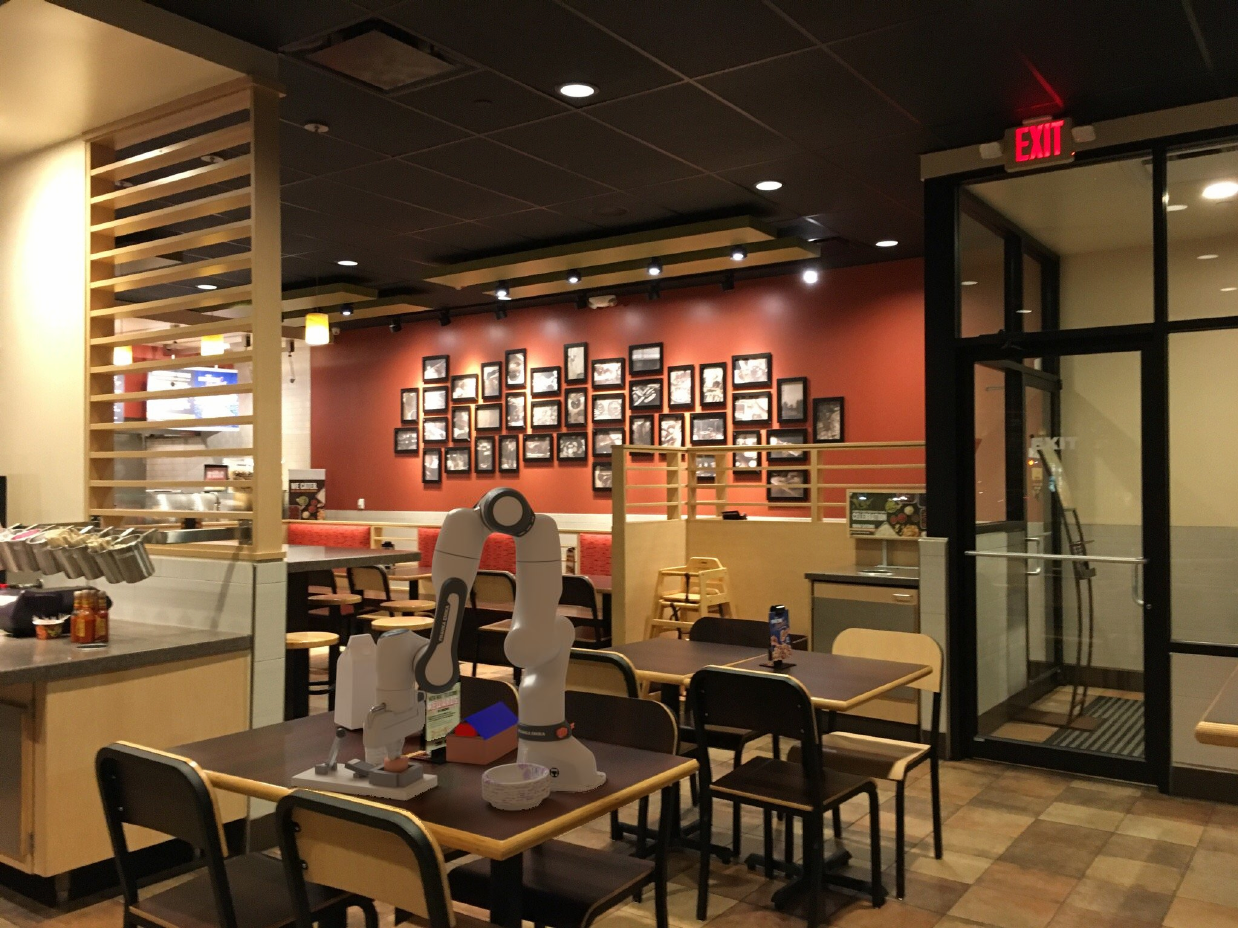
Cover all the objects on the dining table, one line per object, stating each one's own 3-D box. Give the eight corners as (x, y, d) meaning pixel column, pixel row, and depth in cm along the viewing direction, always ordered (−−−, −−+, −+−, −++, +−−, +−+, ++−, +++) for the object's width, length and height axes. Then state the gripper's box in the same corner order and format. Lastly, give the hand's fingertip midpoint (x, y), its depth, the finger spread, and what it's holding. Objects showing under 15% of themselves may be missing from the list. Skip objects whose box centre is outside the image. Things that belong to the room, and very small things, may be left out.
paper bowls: (467, 811, 225) (467, 775, 225) (512, 792, 238) (511, 758, 238) (521, 824, 217) (521, 787, 217) (564, 803, 229) (563, 768, 229)
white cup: (371, 767, 258) (371, 728, 258) (358, 761, 264) (357, 722, 264) (400, 761, 263) (399, 723, 263) (386, 755, 269) (385, 717, 269)
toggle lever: (333, 770, 246) (349, 730, 244) (327, 773, 244) (343, 732, 242) (326, 765, 247) (342, 725, 245) (320, 768, 245) (335, 727, 243)
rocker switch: (376, 771, 242) (377, 765, 242) (366, 776, 239) (367, 770, 239) (354, 762, 245) (355, 757, 245) (344, 767, 241) (345, 762, 241)
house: (521, 745, 278) (520, 702, 278) (485, 766, 259) (485, 720, 259) (482, 741, 282) (482, 699, 282) (444, 761, 264) (444, 716, 264)
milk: (371, 715, 313) (370, 630, 313) (389, 722, 304) (387, 635, 304) (334, 722, 305) (333, 635, 305) (351, 729, 296) (350, 639, 296)
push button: (413, 768, 240) (413, 756, 240) (399, 775, 234) (399, 762, 234) (393, 766, 242) (392, 753, 242) (379, 773, 237) (378, 760, 237)
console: (437, 788, 241) (437, 762, 241) (405, 805, 229) (405, 778, 229) (326, 773, 254) (326, 749, 254) (291, 789, 241) (291, 764, 241)
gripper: (379, 710, 227) (379, 772, 227) (430, 691, 246) (430, 748, 246) (356, 707, 229) (356, 769, 230) (407, 688, 248) (407, 745, 249)
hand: (394, 758), depth 238 cm, fingers closed, pressing on push button
